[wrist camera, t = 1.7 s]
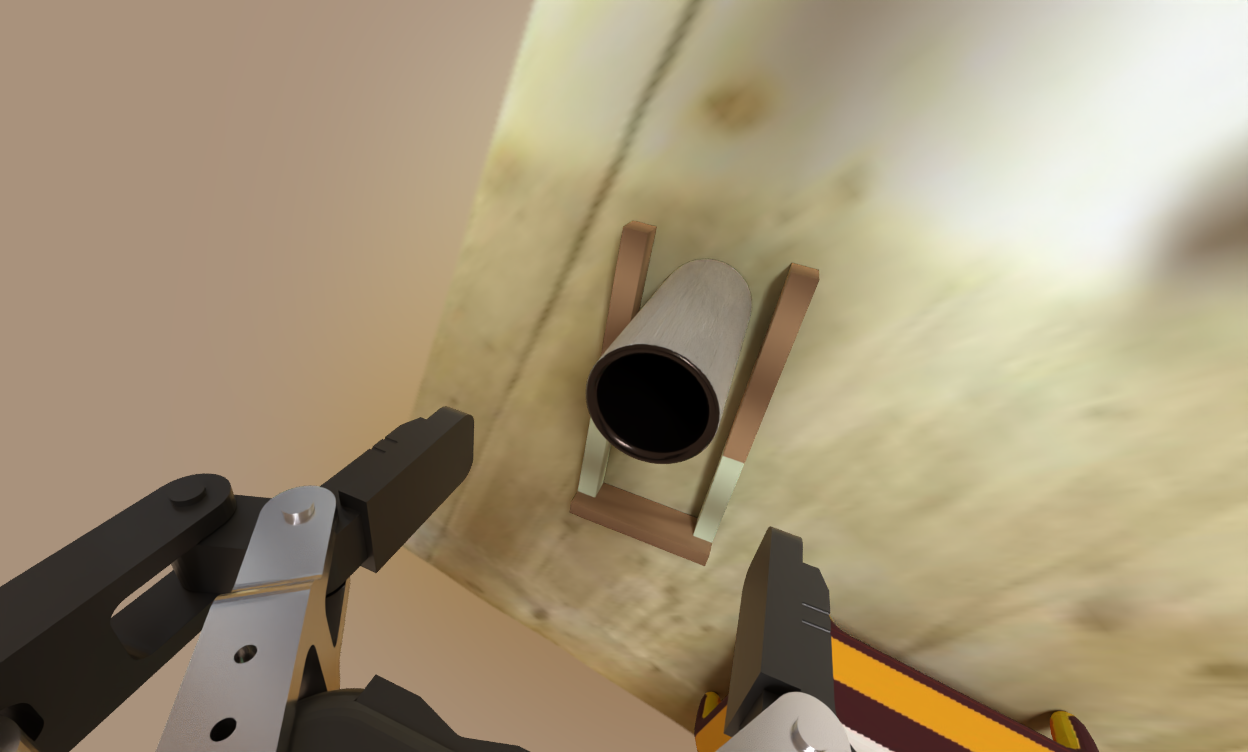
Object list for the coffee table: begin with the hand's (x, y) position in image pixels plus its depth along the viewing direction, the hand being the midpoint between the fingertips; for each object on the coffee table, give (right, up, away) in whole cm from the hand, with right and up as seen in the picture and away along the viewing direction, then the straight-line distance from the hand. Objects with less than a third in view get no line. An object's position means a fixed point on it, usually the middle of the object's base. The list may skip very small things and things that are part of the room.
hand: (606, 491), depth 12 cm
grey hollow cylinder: (+5, +7, +12) cm, 14 cm away
